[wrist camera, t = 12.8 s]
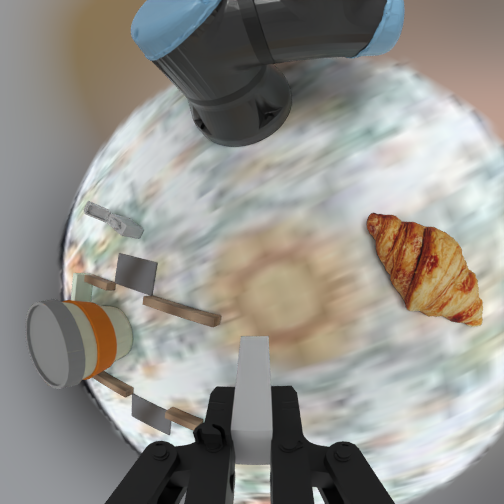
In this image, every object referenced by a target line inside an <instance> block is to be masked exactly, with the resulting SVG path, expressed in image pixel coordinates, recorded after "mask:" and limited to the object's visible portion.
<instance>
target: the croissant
mask: <svg viewBox="0 0 504 504" xmlns="http://www.w3.org/2000/svg"><path fill="white" fill-rule="evenodd" d="M367 228H368V231H369V233H370V234H371V235H372V236H373V238H374V240H376V251H377V255H378V256H379V258H380V260H381V262H382V263H383V264H384V267H385V270H386V271H387V272H388V273H389V274H390V276H391V278H390V280H391V282H392V284H393V285H394V287H395V288H396V289H397V291H398V292H399V293H400V294H401V296H402V298H403V300H404V301H405V304H406V308H407V310H409V311H421V312H422V313H424V314H425V315H427V316H436V317H437V316H443V317H445V318H447V319H448V320H450V321H452V322H457V323H460V322H461V323H465V324H466V325H468V326H471V327H475V326H480V325H481V324H482V320H483V319H482V311H483V306H482V304H483V303H482V300H481V299H480V298H479V293H478V284H477V283H478V280H477V279H476V275H475V274H474V273H473V272H472V271H470V270H469V269H468V266H467V263H466V261H465V260H464V257H463V255H462V249H461V247H460V246H459V244H458V242H456V241H455V240H454V239H453V238H452V237H450V236H449V235H448V234H447V233H445V232H443V231H441V230H439V229H437V228H435V227H425V226H422V225H420V224H417V223H415V222H402V221H401V220H399V219H398V218H397V217H396V216H394V215H383V214H376V213H371V214H370V215H369V217H368V219H367Z"/></svg>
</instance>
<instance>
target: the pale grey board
mask: <svg viewBox="0 0 504 504" xmlns="http://www.w3.org/2000/svg"><path fill="white" fill-rule="evenodd" d="M85 275H93V274H90V273H74V274H73V283H72V293H71V300H73V301H83V302H91V293H92V285H91V284H89V283H87V282H84V278H85Z"/></svg>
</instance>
